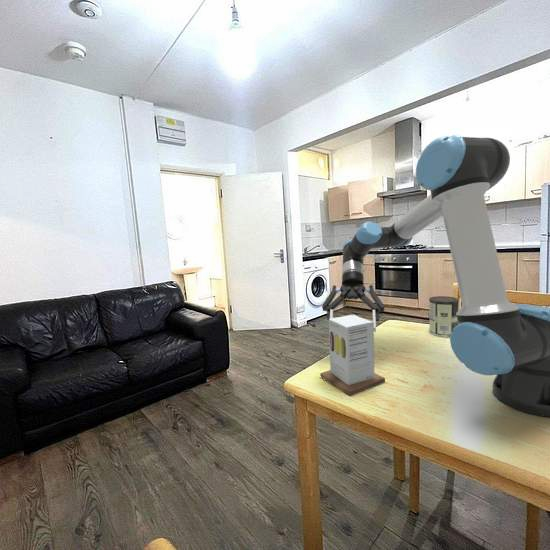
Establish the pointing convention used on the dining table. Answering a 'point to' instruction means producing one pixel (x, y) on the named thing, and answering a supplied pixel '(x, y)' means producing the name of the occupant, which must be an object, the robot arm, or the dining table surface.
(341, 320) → the supplement box
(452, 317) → the coffee can
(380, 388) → the dining table surface
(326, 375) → the walnut board
